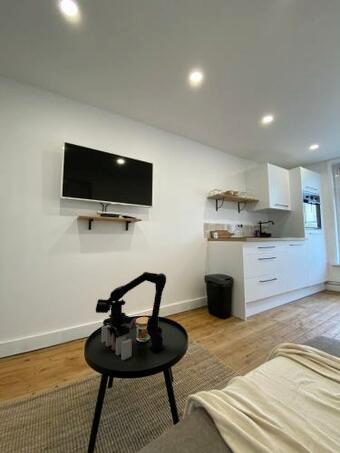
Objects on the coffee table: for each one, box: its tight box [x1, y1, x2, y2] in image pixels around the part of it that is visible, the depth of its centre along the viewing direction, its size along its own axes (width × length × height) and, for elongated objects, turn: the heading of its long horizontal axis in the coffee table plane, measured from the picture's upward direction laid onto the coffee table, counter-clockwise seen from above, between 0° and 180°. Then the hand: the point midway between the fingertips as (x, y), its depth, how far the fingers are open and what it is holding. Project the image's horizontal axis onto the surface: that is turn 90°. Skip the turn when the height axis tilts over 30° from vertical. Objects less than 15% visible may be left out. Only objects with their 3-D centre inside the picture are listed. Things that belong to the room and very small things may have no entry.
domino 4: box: [115, 335, 127, 356], centre depth 105 cm, size 2×5×8 cm, turn 133°
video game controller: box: [129, 317, 138, 330], centre depth 134 cm, size 10×5×7 cm, turn 74°
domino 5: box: [120, 338, 133, 361], centre depth 101 cm, size 2×5×8 cm, turn 133°
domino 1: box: [100, 324, 109, 343], centre depth 117 cm, size 2×5×8 cm, turn 133°
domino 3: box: [111, 334, 116, 351], centre depth 110 cm, size 2×5×8 cm, turn 133°
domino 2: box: [105, 330, 112, 347], centre depth 113 cm, size 2×5×8 cm, turn 133°
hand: (115, 342), depth 109 cm, fingers closed on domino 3, 2 cm apart
